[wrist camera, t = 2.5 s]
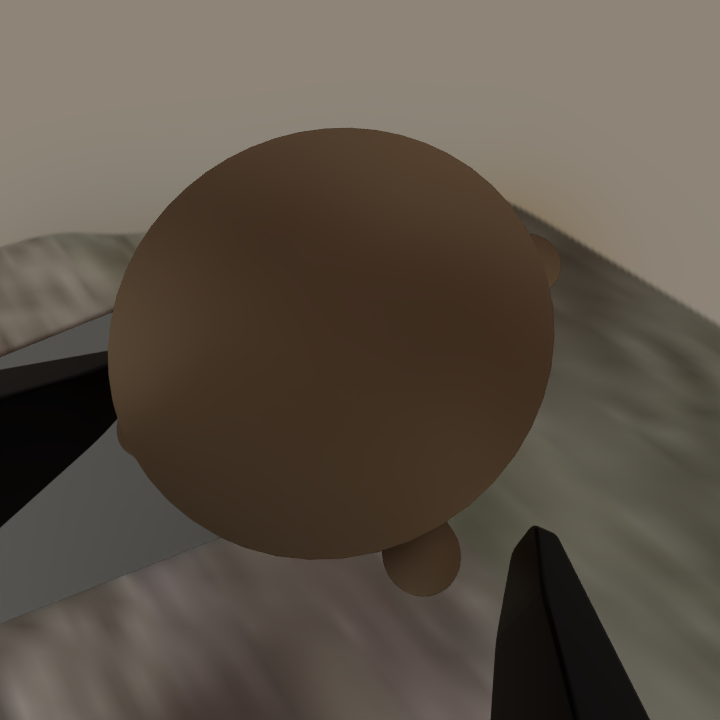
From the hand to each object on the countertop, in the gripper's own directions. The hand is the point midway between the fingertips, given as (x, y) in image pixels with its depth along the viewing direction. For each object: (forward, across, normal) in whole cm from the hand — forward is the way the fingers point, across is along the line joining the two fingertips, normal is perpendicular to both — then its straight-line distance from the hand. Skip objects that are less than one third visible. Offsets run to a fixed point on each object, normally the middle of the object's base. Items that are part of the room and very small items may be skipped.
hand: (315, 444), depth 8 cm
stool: (+8, 0, +5) cm, 9 cm away
